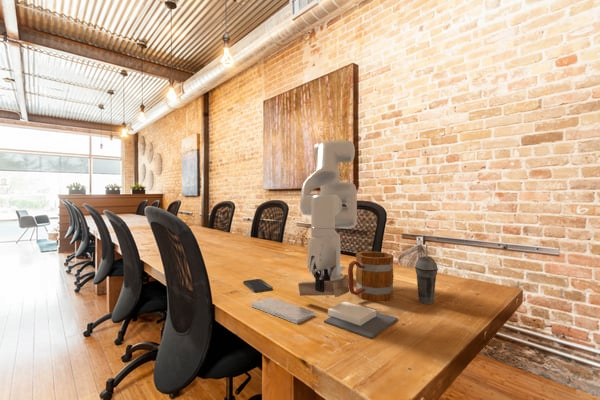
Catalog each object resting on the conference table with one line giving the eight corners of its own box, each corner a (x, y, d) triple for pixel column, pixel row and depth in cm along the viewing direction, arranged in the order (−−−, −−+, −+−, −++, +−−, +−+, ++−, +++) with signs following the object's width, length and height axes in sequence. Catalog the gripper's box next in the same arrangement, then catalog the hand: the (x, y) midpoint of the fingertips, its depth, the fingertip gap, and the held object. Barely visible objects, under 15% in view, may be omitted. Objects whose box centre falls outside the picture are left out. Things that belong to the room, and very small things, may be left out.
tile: (344, 301, 96) (376, 310, 88) (344, 307, 96) (376, 316, 88) (327, 309, 89) (360, 319, 82) (327, 315, 89) (360, 326, 82)
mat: (353, 307, 98) (353, 305, 98) (397, 319, 88) (397, 317, 88) (323, 322, 86) (323, 320, 86) (371, 338, 76) (371, 336, 76)
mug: (372, 287, 118) (372, 250, 118) (401, 297, 107) (401, 255, 107) (335, 297, 107) (335, 255, 107) (364, 309, 96) (364, 262, 96)
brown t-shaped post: (308, 292, 104) (306, 280, 105) (349, 291, 93) (347, 278, 93) (296, 297, 99) (294, 284, 100) (337, 296, 88) (335, 283, 89)
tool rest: (269, 300, 104) (269, 296, 104) (314, 315, 90) (314, 311, 90) (251, 306, 98) (251, 303, 98) (296, 324, 84) (296, 319, 84)
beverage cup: (436, 299, 105) (436, 242, 105) (438, 306, 98) (439, 246, 98) (414, 297, 107) (414, 241, 107) (415, 304, 100) (415, 244, 100)
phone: (260, 278, 129) (273, 287, 115) (260, 281, 129) (273, 290, 115) (242, 281, 125) (254, 290, 112) (242, 283, 125) (254, 293, 112)
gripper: (328, 230, 104) (328, 282, 104) (297, 234, 92) (297, 293, 92) (346, 231, 99) (346, 287, 99) (316, 236, 87) (316, 299, 87)
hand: (322, 289), depth 96 cm, fingers closed on brown t-shaped post, 2 cm apart
